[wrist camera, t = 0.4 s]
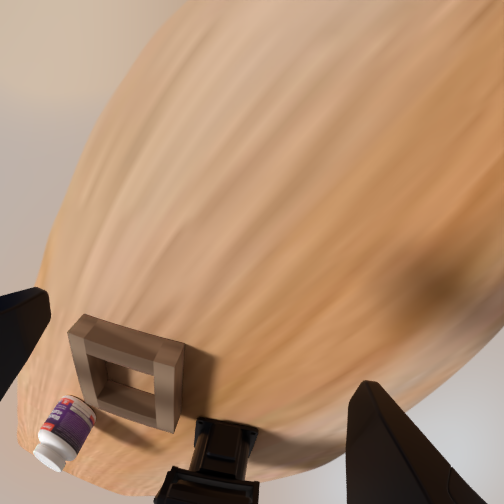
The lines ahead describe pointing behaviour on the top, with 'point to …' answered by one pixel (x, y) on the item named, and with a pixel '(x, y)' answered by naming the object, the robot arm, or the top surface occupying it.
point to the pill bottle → (64, 432)
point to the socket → (133, 357)
